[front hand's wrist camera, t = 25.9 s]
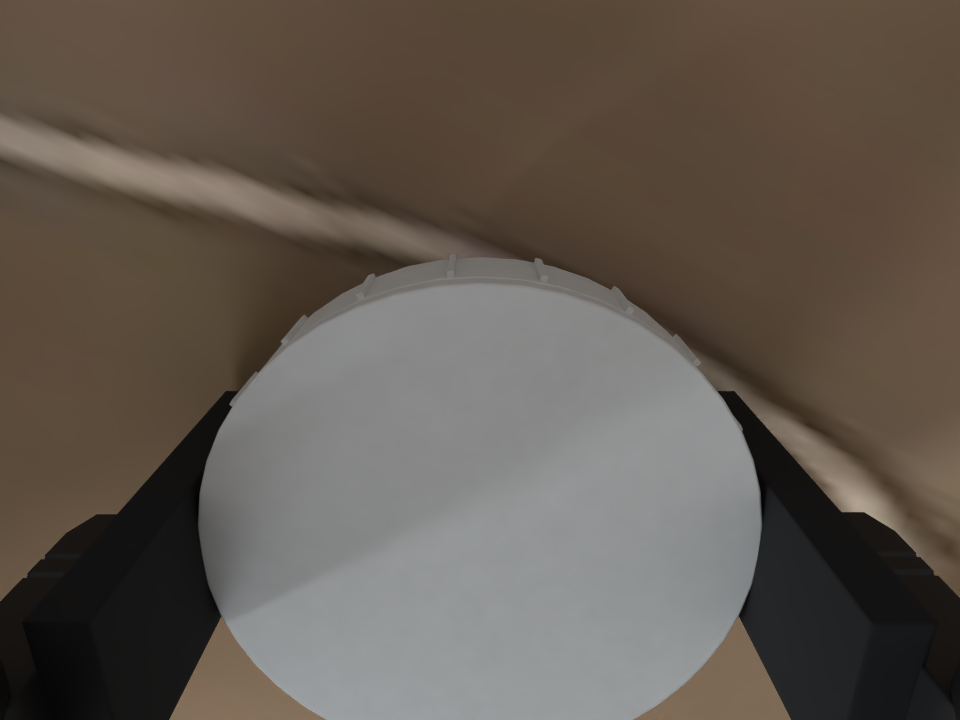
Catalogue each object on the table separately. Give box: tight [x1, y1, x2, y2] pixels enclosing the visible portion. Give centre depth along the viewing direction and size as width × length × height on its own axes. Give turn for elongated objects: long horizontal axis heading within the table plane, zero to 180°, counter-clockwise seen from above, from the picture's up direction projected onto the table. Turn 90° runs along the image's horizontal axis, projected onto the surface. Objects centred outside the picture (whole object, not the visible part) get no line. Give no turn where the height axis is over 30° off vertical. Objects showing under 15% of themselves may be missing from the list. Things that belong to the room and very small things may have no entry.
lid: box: [198, 254, 762, 720], centre depth 11 cm, size 9×9×2 cm
